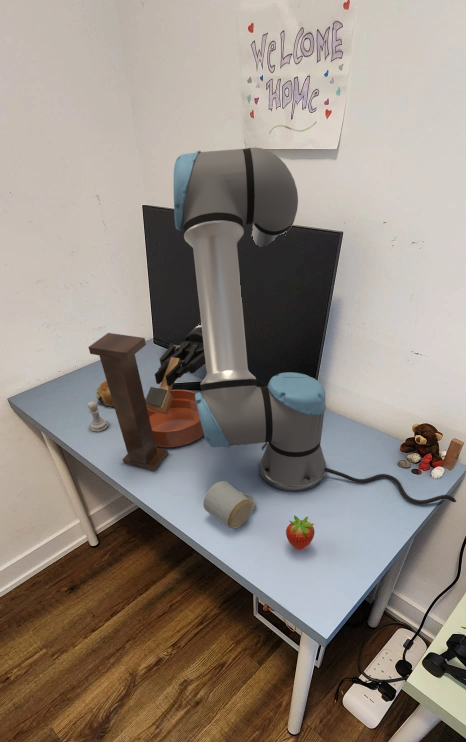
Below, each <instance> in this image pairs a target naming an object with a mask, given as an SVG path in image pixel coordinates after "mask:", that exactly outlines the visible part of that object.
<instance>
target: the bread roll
mask: <svg viewBox="0 0 466 742" xmlns="http://www.w3.org/2000/svg"><path fill="white" fill-rule="evenodd" d="M96 400H97V401H99V402H100V404H102V405H103V406H106V407H110V408H114V404H113V401H112V398H111V394H110V391H109V387H108V384H107V380H106V379H105V380H104V381H103V382H102V383H100V385H99V387H98V388H97V390H96Z"/></svg>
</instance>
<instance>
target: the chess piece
mask: <svg viewBox="0 0 466 742" xmlns="http://www.w3.org/2000/svg"><path fill="white" fill-rule="evenodd" d="M87 408H88V413H89V414H91V417H92V421H91V422H90V424H89V426H90V430H92V431H93V432H102V431H105V430H106V429H107V428H108V425H109V424H108V422H107V420H106V419H104V418H102V417H101V416H100V413H99V412H100V408H98V404H97V402H96V401H89V402H88V403H87Z"/></svg>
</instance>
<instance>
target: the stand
mask: <svg viewBox="0 0 466 742" xmlns="http://www.w3.org/2000/svg"><path fill="white" fill-rule="evenodd" d="M146 345H147V342H146V337H141V336H135V335H126V334H119V333H112V332H107V333H106V334H104V335H102V337H100V338H98V339H97V340H96V341H95V342H93V343H92V344H90V345H89V346H88V350H89V354H90V355H93V356H94V355H95V356H99V359H100V363H101V366H102V369H103V373H104V376H105V381H106V380H107V384H108V387H109V391H110V394H111V398H112V401H113V404H114V407H113V408H114V411H115V414H116V418H117V421H118V425H119V429H120V432H121V435H122V439H123V443H124V445H125V448H126V454H125V456H124V457H122V462H123V464H124V465H127V466H131V467H135V468H140V469H143V470H147V471H152V472H156V471H157V469H158V468H159V467H160V466H161V465H162V463H164V461H165V459H166V458H167V457H168V456H169V452H168V449H165V448H162V447H158V446H155V441H154V437H153V433H152V428H151V424H150V419H149V415H148V411H147V406H146V402H145V398H146V397H145V393H144V389H143V385H142V379H141V376H140V373H139V367H138V366H139V365H138V363H137V358H136V354H137V353H138V352H139V351H141V350H142V349H143V348H144V347H146Z"/></svg>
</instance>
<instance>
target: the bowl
mask: <svg viewBox="0 0 466 742" xmlns="http://www.w3.org/2000/svg"><path fill="white" fill-rule="evenodd" d="M170 393H171V394H172V396H173V400H172V402H171V405H170V408H169V410H168V413H167V414H162V413H157V412H152V411H149V409H148V408H147V411H148V415H149V419H150V424H151V428H152V433H153V437H154V441H155V446H156V447H157V448H176V447H182V446H186V445H188V444H191V443H194V442H195V441H197V440H199V439H201V438H202V437H203V436H204V433H203V429H202V425H201V421H200V417H199V413H198V408H197V404H196V400H195V394H196V393H197V392H195V391H192V390H187V389H172V390H171V392H170ZM146 398H147V396H146V397H145V400H146Z"/></svg>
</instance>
